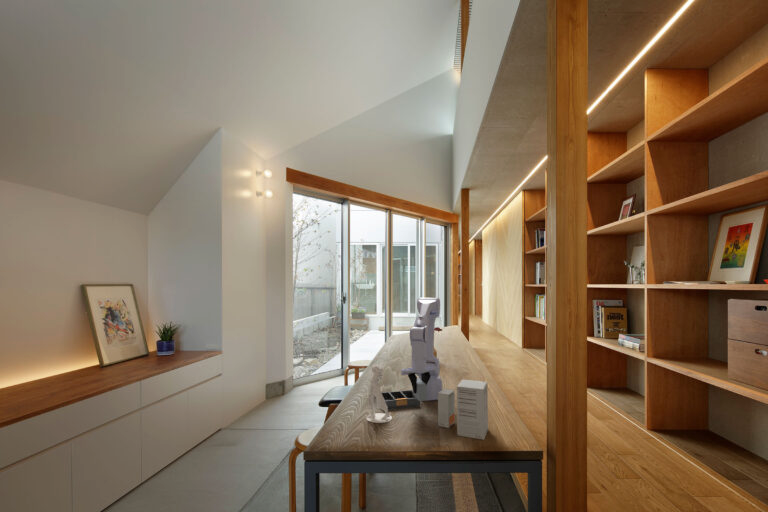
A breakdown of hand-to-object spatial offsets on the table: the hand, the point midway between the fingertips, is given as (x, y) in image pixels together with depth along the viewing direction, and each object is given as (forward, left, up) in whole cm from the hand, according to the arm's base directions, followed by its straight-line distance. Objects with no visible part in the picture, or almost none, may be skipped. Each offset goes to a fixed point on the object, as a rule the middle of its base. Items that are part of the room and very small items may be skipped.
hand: (419, 392), depth 157 cm
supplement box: (-12, +22, -9) cm, 27 cm away
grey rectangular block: (0, 0, -2) cm, 2 cm away
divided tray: (+5, -13, -8) cm, 16 cm away
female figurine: (+19, -1, -9) cm, 21 cm away
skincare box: (-6, +13, -9) cm, 17 cm away
